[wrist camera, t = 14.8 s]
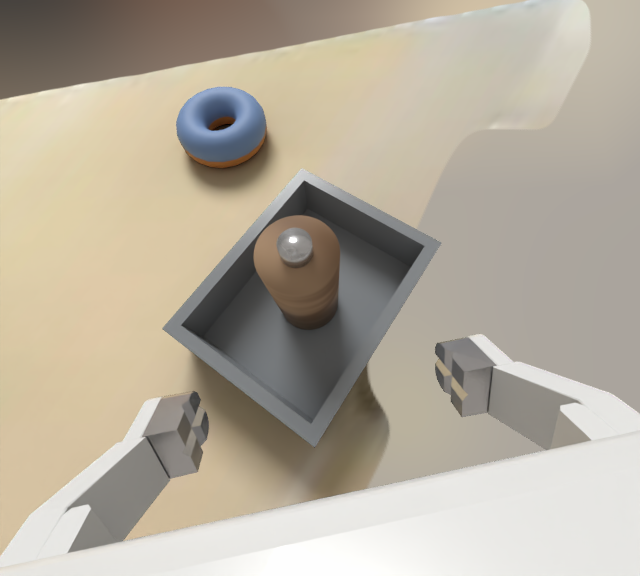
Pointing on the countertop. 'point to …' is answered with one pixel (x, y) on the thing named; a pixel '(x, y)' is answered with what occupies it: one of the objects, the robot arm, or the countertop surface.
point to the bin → (294, 343)
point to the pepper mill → (300, 269)
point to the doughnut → (216, 111)
